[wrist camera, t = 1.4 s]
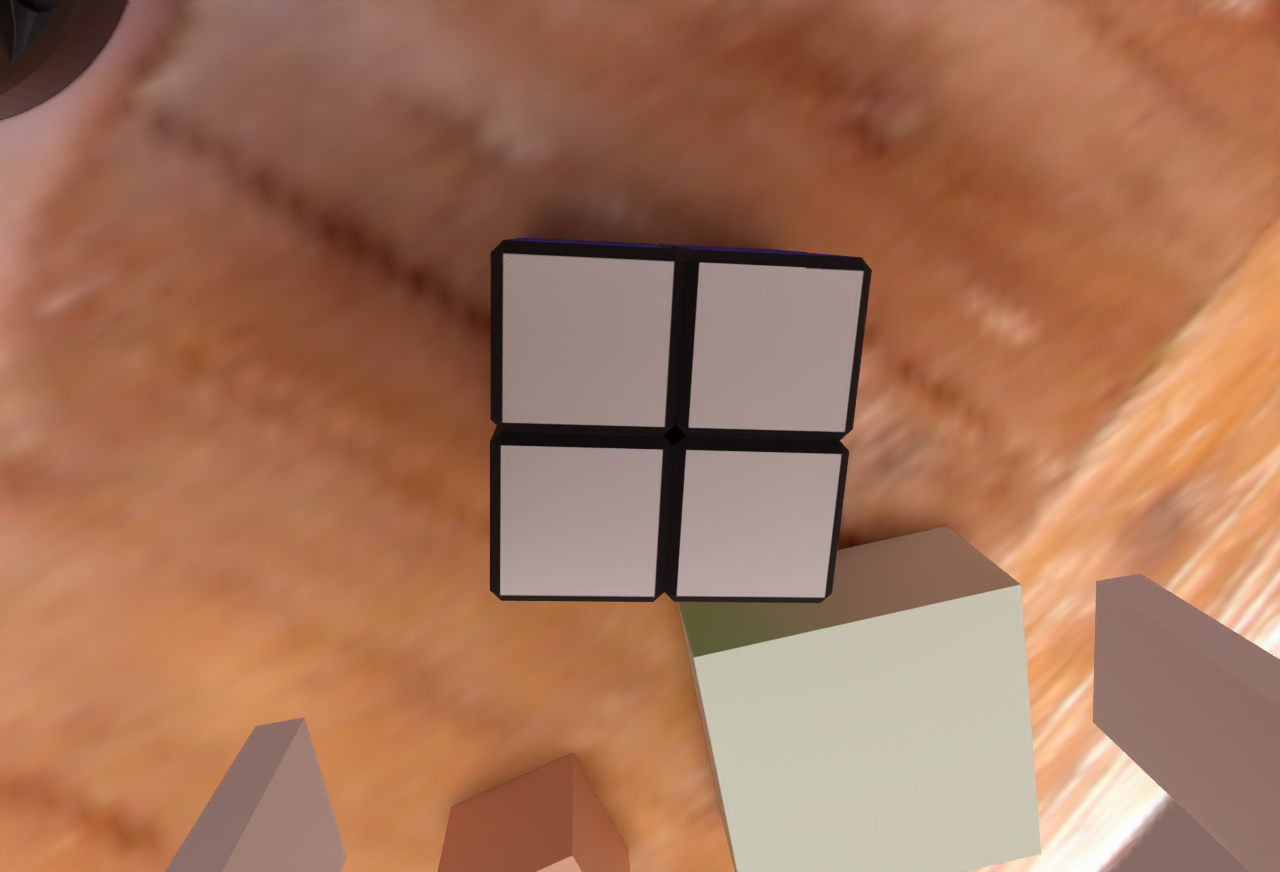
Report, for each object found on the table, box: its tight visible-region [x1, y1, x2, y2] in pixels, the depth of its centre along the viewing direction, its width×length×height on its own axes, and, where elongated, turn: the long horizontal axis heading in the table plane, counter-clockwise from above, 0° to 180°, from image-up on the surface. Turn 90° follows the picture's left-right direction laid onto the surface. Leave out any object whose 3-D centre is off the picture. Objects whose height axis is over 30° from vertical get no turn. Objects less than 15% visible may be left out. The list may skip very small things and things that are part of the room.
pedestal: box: [677, 526, 1041, 872], centre depth 32 cm, size 12×12×6 cm
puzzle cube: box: [490, 238, 872, 603], centre depth 26 cm, size 10×10×10 cm
